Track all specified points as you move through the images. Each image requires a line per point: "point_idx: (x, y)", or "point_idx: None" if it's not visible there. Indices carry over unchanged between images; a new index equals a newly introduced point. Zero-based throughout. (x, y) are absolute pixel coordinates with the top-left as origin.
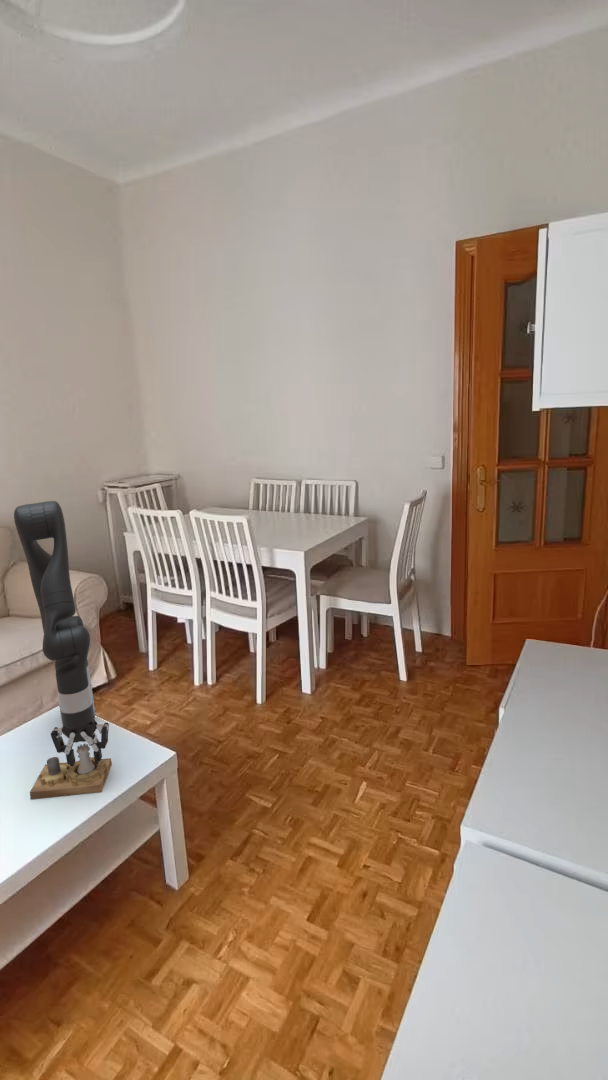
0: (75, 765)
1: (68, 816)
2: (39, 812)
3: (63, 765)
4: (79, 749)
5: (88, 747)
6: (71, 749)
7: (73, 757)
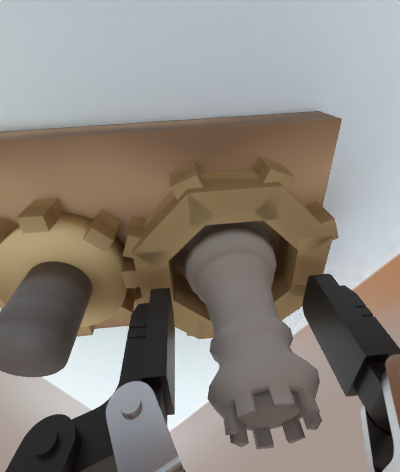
0: (164, 260)
1: (207, 359)
2: (110, 350)
3: (76, 238)
4: (244, 423)
5: (314, 395)
6: (162, 408)
7: (171, 337)
